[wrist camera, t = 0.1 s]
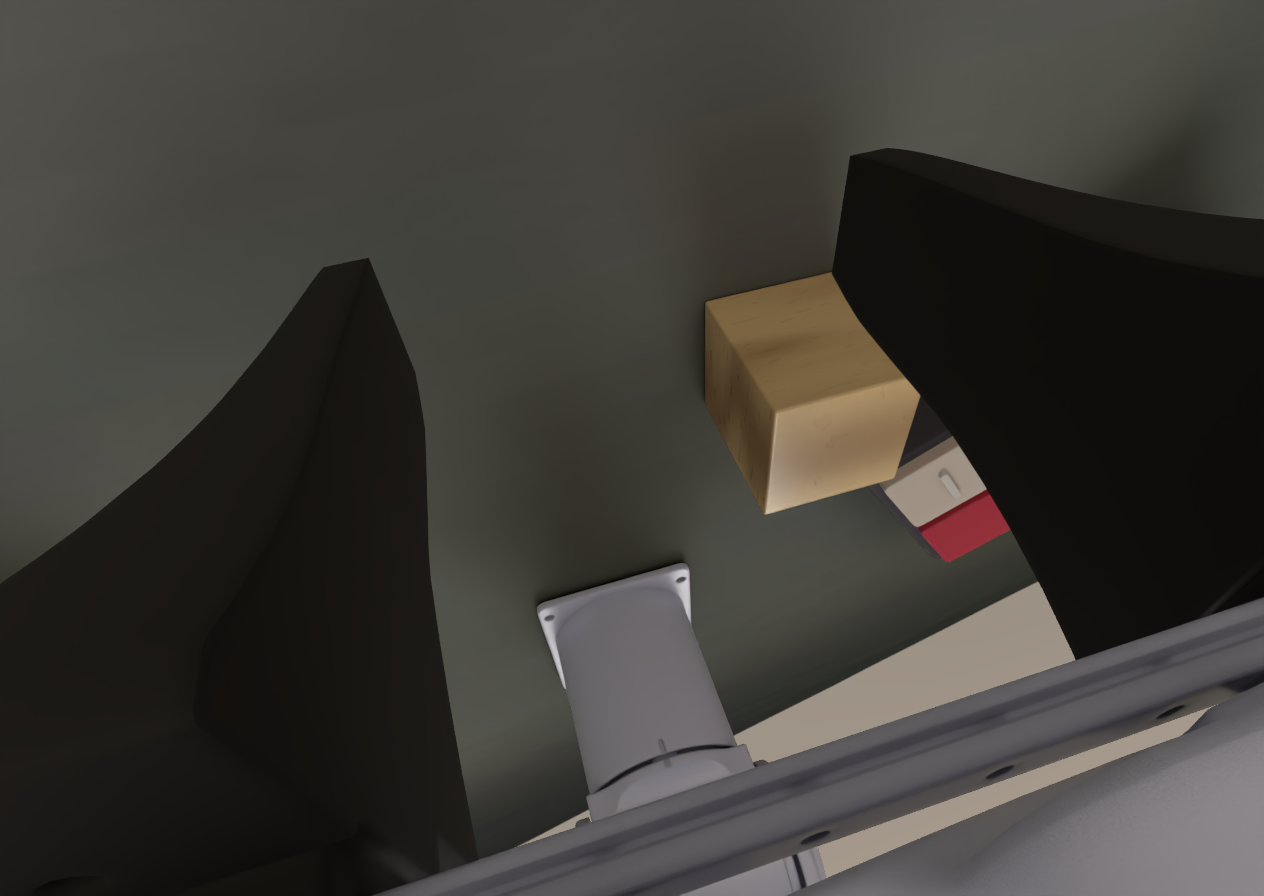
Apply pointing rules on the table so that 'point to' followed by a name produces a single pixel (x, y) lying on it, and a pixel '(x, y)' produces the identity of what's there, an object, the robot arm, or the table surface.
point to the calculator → (939, 492)
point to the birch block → (803, 393)
